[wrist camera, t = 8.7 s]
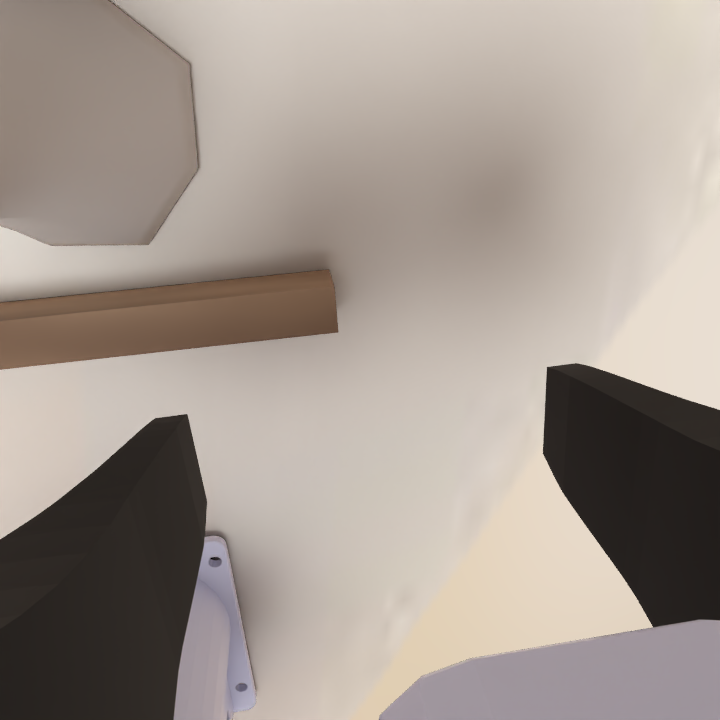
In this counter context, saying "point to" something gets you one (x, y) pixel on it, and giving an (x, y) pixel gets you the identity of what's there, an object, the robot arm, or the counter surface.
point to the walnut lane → (166, 318)
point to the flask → (90, 124)
